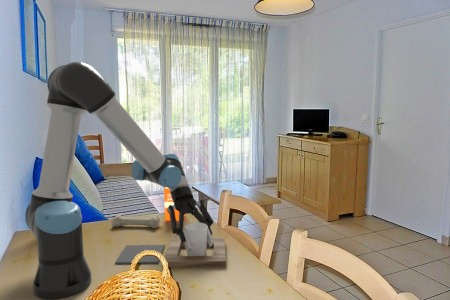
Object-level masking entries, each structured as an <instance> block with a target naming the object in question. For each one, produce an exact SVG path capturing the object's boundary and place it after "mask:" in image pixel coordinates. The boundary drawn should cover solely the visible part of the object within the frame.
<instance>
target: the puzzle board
mask: <svg viewBox="0 0 450 300" xmlns="http://www.w3.org/2000/svg"><path fill="white" fill-rule="evenodd" d="M225 238H226V237H224V236H223V237H222V236H221V237H219V236H217V237H212V239H213V241H214V244H213V245H212V246H211V247H209V244H208V241H207V247H206V248H213V255H205V256H187V255H180V253H181V248H186V247H185V244H184V242H183V243H182V242H181V240H180V237H171V238H170V240H169V242H168V243H169V244H168V246H167V249H166V251H165V254H164V257H165V258H166V259H167V261H168V263H169V267H170V268H172V269H173V268H175V269H176V268H226V267H227V257H226V255H227V253H226V239H225ZM170 268H169V269H170Z"/></svg>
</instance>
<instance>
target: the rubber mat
mask: <svg viewBox="0 0 450 300" xmlns="http://www.w3.org/2000/svg"><path fill="white" fill-rule="evenodd" d="M164 249H165V244H127V245H125V247H124V248H123V249H122V251H121V252H120V254H119V256H118V257H117V258H116V260H115V262H114V265H132V264H131V262H132V260H133V259H134V257H135V256H136V255H137V254H138V253H140V252H142V251H144V250H155V251H158V252H160V253H161V254H162V255H163V253H164V252H163V251H164ZM139 263H140V264H141V265H143V264H144V265H151V264H159V263H160V260H159V259H158V258H156V257H154V256H145V257H143V258H142V259H141V260H140V261H139Z"/></svg>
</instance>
